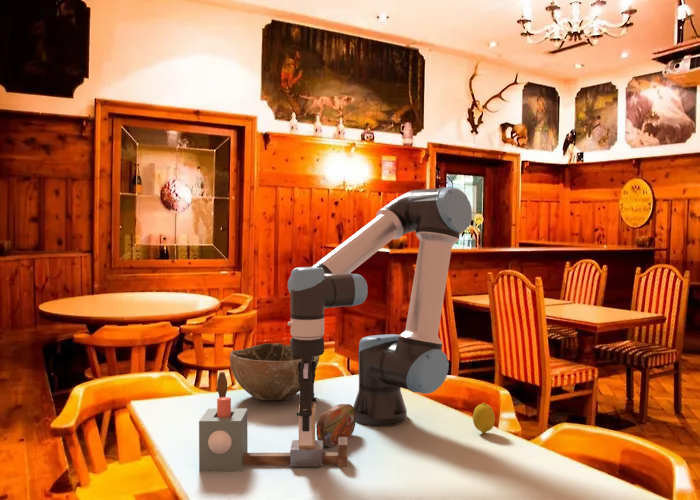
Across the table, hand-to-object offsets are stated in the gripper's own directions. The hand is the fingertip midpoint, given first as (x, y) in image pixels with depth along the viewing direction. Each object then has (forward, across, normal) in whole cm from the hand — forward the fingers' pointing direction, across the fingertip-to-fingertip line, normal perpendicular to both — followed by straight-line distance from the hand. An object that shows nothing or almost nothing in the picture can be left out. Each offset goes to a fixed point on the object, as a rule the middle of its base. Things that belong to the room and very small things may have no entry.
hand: (307, 437), depth 132 cm
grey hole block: (+6, 0, -18) cm, 19 cm away
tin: (+6, -14, +6) cm, 17 cm away
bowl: (+6, -51, -12) cm, 53 cm away
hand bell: (+6, -19, -22) cm, 30 cm away
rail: (+6, 0, -4) cm, 7 cm away
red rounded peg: (-1, 0, -19) cm, 19 cm away
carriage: (+6, 0, 0) cm, 6 cm away
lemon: (+6, -19, +44) cm, 49 cm away
